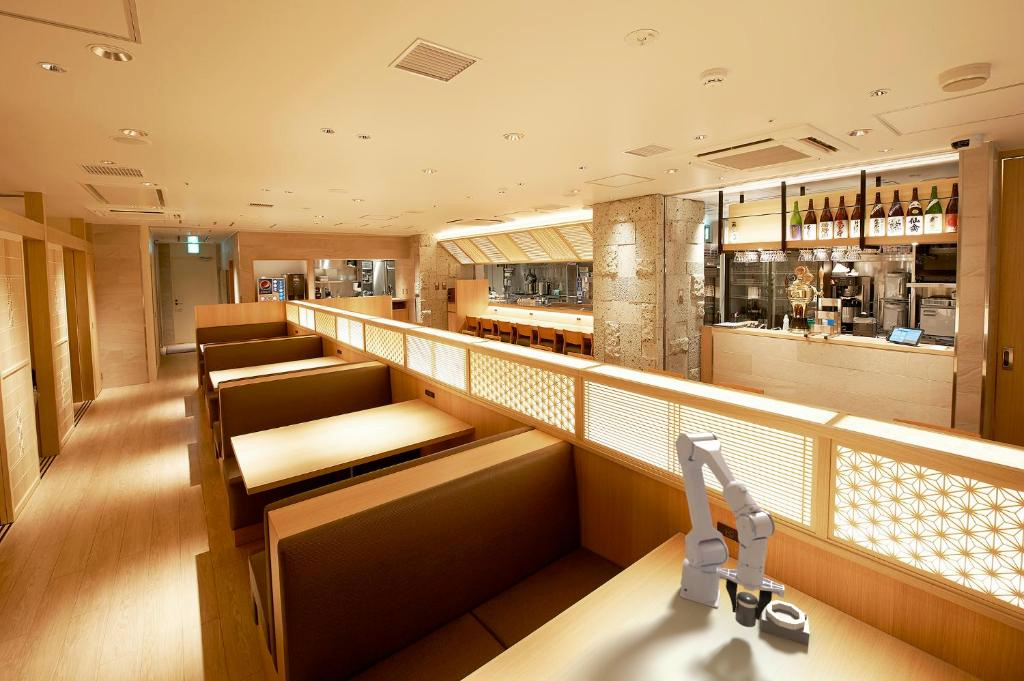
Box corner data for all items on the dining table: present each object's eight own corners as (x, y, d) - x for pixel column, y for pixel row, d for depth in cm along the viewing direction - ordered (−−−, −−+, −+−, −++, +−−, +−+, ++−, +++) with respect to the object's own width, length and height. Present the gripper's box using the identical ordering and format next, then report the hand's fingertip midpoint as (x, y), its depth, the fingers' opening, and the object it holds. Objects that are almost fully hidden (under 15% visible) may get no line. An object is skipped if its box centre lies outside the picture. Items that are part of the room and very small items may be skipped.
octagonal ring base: (760, 631, 120) (762, 614, 119) (761, 612, 127) (762, 596, 126) (808, 646, 115) (810, 629, 115) (806, 625, 122) (808, 608, 122)
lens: (734, 623, 117) (736, 600, 116) (735, 611, 121) (737, 589, 121) (755, 630, 115) (758, 606, 114) (756, 618, 119) (758, 595, 118)
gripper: (716, 561, 116) (711, 613, 118) (787, 580, 109) (780, 635, 111) (719, 546, 122) (714, 596, 124) (786, 563, 116) (780, 616, 118)
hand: (745, 613), depth 118 cm, fingers closed on lens, 4 cm apart
